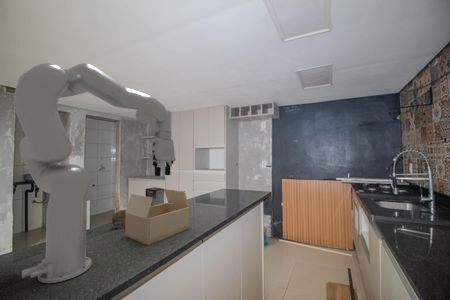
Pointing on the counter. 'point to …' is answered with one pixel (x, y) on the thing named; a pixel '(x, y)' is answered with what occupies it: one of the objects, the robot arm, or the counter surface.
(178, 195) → the far flap
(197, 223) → the counter surface
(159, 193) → the coffee box
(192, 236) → the counter surface
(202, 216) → the counter surface
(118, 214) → the tin
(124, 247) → the counter surface
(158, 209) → the carton
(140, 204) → the near flap
